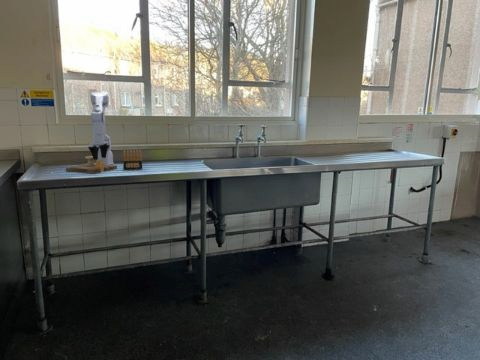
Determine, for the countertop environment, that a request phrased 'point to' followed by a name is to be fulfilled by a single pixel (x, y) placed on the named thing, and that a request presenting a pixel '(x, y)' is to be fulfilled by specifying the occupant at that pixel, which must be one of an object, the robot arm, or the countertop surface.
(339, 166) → the countertop surface
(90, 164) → the mushroom shaped handle
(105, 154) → the robot arm
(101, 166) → the block
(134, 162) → the ammunition clip
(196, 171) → the countertop surface
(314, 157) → the countertop surface
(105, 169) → the notched board
